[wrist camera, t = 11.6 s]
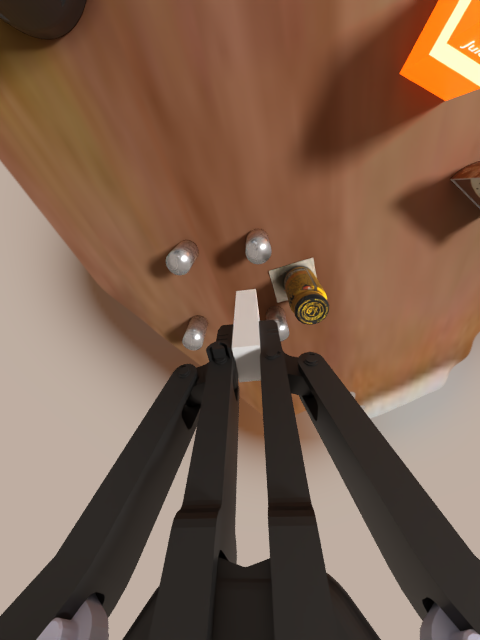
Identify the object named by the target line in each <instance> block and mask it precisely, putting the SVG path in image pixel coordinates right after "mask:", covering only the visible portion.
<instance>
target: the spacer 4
mask: <svg viewBox="0 0 480 640" xmlns="http://www.w3.org/2000/svg"><path fill="white" fill-rule="evenodd" d="M266 320H274V321H275V322H276V323H277V325H278V331H279V336H280V341H283V340H285V339H286V338H287V337H288V336H289V329H288V325H287V321H286V317H285V312H284V310H283V309H282V308H281V307H278V306H273V307H271V308H269V309H268V310H267V312H266Z"/></svg>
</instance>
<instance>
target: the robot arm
mask: <svg viewBox="0 0 480 640" xmlns="http://www.w3.org/2000/svg"><path fill="white" fill-rule="evenodd" d="M85 3H86V0H0V19H2V20H3V21H5V22H7V23H8V24H10V25H11V26H13V27H15V28H16V29H18V30H20V31H21V32H23V33H25V34H28V35H30V36H33V37H36V38H41V39H53V38H57V37H60V36H62V35H64V34H66V33H67V32H69V31H70V30H71V29H72V28H73V27H74V26H75V24H76V23H77V21H78V20H79V18H80V16H81V14H82V12H83V9H84V6H85ZM216 340H217V341H216V342H214V343H212V344H210V345H209V346H208V347H207V349H206V352H207V355H208V358H209V363H207V364H205V365H203V366H200V367H197V368H196V367H195V366H193V365H191V364H184V365H181V366H179V367H178V368H177V369H176V370H175V371H174V372H173V374H172V375H171V377H170V378H169V380H168V381H167V383H166V384H165V386H164V388H163V389H162V391H161V392H160V394H159V395H158V397H157V399H156V400H155V402H154V403H153V405H152V406H151V408H150V409H149V411H148V412H147V414H146V416H145V417H144V419H143V420H142V422H141V424H140V425H139V426H138V428H137V430H136V431H135V433H134V434H133V436H132V437H131V439H130V440H129V442H128V444H127V445H126V447H125V448H124V450H123V451H122V453H121V454H120V456H119V458H118V459H117V461H116V463H115V464H114V465H113V467H112V469H111V470H110V472H109V473H108V475H107V476H106V478H105V479H104V481H103V483H102V484H101V486H100V487H99V489H98V490H97V492H96V493H95V495H94V496H93V498H92V500H91V501H90V503H89V504H88V506H87V507H86V509H85V511H84V512H83V514H82V515H81V517H80V518H79V520H78V521H77V523H76V524H75V526H74V528H73V529H72V531H71V533H70V534H69V535H68V537H67V539H66V540H65V542H64V543H63V545H62V546H61V548H60V549H59V551H58V553H57V554H56V556H55V557H54V558H53V559H52V560H51V561H50V562H49V563H48V565H47V566H46V567H45V568H44V569H43V570H42V571H41V572H40V574H38V576H37V577H36V578H35V579H34V580H33V581H32V582H31V583H30V584H29V586H27V587H26V589H25V590H24V591H23V592H22V593H21V594H20V595H19V596H18V597H17V598H16V599H15V601H14V602H13V603H12V604H11V605H10V606H9V607H8V608H7V609H6V610H5V612H4V613H3V614H2V615H1V616H0V640H108V637H109V634H108V617H109V616H110V614H111V612H112V611H113V609H114V608H115V606H116V604H117V603H118V600H119V599H120V597H121V595H122V594H123V592H124V590H125V588H126V586H127V584H128V582H129V580H130V578H131V576H132V574H133V572H134V569H135V567H136V565H137V563H138V561H139V558H140V556H141V553H142V551H143V549H144V547H145V545H146V542H147V540H148V538H149V535H150V533H151V531H152V528H153V526H154V524H155V521H156V519H157V517H158V515H159V512H160V510H161V508H162V505H163V503H164V501H165V498H166V496H167V494H168V491H169V489H170V487H171V485H172V482H173V480H174V478H175V475H176V473H177V471H178V468H179V466H180V464H181V461H182V459H183V457H184V454H185V452H186V450H187V447H188V445H189V443H190V441H191V438H192V436H193V434H194V431H195V429H196V427H197V430H196V435H195V441H194V446H193V452H192V457H191V462H190V468H189V473H188V478H187V484H186V489H185V494H184V500H183V504H182V507H181V509H180V510H179V511H178V512H177V513H176V515H175V518H174V520H173V524H172V528H171V533H170V538H169V542H168V548H167V552H166V557H165V563H164V567H163V572H162V577H161V582H160V586H159V587H158V588H157V589H156V591H155V592H154V594H153V595H152V597H151V598H150V599H149V601H148V602H147V604H146V605H145V607H144V608H143V610H142V611H141V613H140V614H139V616H138V617H137V619H136V620H135V622H134V623H133V625H132V626H131V628H130V629H129V631H128V632H127V634H126V635H125V637H124V638H123V640H381V639H380V638H379V637H378V635H377V634H376V632H375V631H374V630H373V628H372V627H371V626H370V624H369V623H368V621H367V620H366V618H365V617H364V616H363V614H362V613H361V611H360V610H359V609H358V607H357V606H356V604H355V603H354V602H353V601H352V599H351V597H350V596H349V595H348V594H347V592H346V591H345V590H344V589H343V588H342V587H341V585H340V584H339V583H338V582H337V581H336V580H335V579H334V578H333V577H331V576H330V575H329V574H327V573H326V570H325V564H324V559H323V554H322V549H321V543H320V538H319V533H318V528H317V522H316V518H315V513H314V510H313V507H312V504H311V500H310V494H309V489H308V484H307V478H306V473H305V467H304V462H303V456H302V451H301V445H300V440H299V434H298V429H297V424H296V418H295V413H294V407H293V402H292V396H291V393H292V394H297V395H299V397H300V399H301V401H302V403H303V405H304V407H305V409H306V410H307V412H308V414H309V416H310V418H311V420H312V422H313V424H314V426H315V427H316V429H317V431H318V433H319V435H320V437H321V439H322V441H323V443H324V445H325V446H326V448H327V450H328V452H329V454H330V456H331V458H332V460H333V462H334V464H335V465H336V468H337V469H338V471H339V473H340V475H341V477H342V479H343V481H344V483H345V485H346V486H347V488H348V490H349V492H350V494H351V496H352V498H353V500H354V502H355V504H356V506H357V507H358V509H359V511H360V513H361V515H362V517H363V519H364V521H365V523H366V525H367V527H368V528H369V530H370V532H371V534H372V536H373V538H374V540H375V542H376V544H377V546H378V547H379V549H380V551H381V553H382V555H383V557H384V559H385V561H386V563H387V565H388V566H389V568H390V570H391V572H392V573H393V575H394V577H395V579H396V580H397V582H398V584H399V585H400V587H401V589H402V591H403V592H404V594H405V595H406V597H407V598H408V600H409V601H410V603H411V604H412V606H413V607H414V609H415V610H416V612H417V613H418V615H419V616H420V617H421V619H422V620H423V622H422V625H421V628H420V640H480V560H479V559H478V558H477V557H476V556H475V555H474V554H473V553H472V552H471V550H470V549H469V548H468V546H467V545H466V544H465V543H464V541H463V540H462V539H461V537H460V536H459V535H458V534H457V532H456V531H455V529H454V528H453V527H452V525H451V524H450V523H449V522H448V520H447V519H446V518H445V516H444V515H443V514H442V512H441V511H440V510H439V509H438V508H437V506H436V505H435V503H434V502H433V501H432V499H431V498H430V497H429V496H428V494H427V493H426V492H425V491H424V489H423V488H422V486H421V485H420V484H419V482H418V481H417V480H416V478H415V477H414V476H413V475H412V473H411V472H410V471H409V469H408V468H407V467H406V465H405V464H404V463H403V461H402V460H401V459H400V458H399V456H398V455H397V454H396V452H395V451H394V450H393V448H392V447H391V446H390V445H389V443H388V442H387V441H386V439H385V438H384V437H383V435H382V434H381V433H380V431H379V430H378V429H377V427H376V426H375V425H374V424H373V422H372V421H371V420H370V418H369V417H368V416H367V414H366V413H365V412H364V410H363V409H362V408H361V407H360V405H359V404H358V403H357V401H356V400H355V399H354V397H353V396H352V395H351V394H350V392H349V391H348V390H347V388H346V387H345V386H344V384H343V383H342V382H341V380H340V379H339V378H338V377H337V375H336V374H335V373H334V371H333V370H332V369H331V367H330V366H329V365H328V363H327V362H326V361H325V360H324V358H323V357H322V356H321V355H319V354H317V353H313V352H307V353H304V354H301V355H300V356H299V358H298V357H292V356H289V355H287V354H285V353H284V352H283V350H282V347H281V341H280V336H279V331H278V325H277V323H276V322H275V321H274V320H264V321H260V318H259V310H258V302H257V294H256V289H251V290H243V291H236V303H235V315H234V324H232V325H223V326H221V327H220V329H219V330H218V334H217V339H216ZM238 378H239V382H246V381H259V380H261V388H262V405H263V422H264V438H265V454H266V473H267V489H268V527H269V544H270V558H269V559H267V560H264V561H262V562H259V563H257V564H254V565H251V566H249V567H242V566H239V565H237V564H236V560H237V555H236V553H237V551H236V538H235V511H236V480H237V478H236V477H237V449H238V448H237V447H238V417H239V416H238V415H239V414H238V413H239V386H238Z"/></svg>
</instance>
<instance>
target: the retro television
mask: <svg viewBox="0 0 480 640" xmlns="http://www.w3.org/2000/svg"><path fill="white" fill-rule="evenodd" d="M450 180H451V181H452V182H453V183H454V184H455V185H456V186H457V187H458V188H459V189H460V190H461V191H462V192H463V193H464V194H465V195H466V196H467V197H468V198H469V199H470V200H471V201H472V202H473V203H474V204H475V205H476V206H477V207H478V208H479V209H480V161H478V162H475V163H472V164H470V165H468V166H466V167H465V168H463V169H461V170H460V171H459V172H457V173H456V174H455V175H454V176H453V177H452V178H451V179H450Z"/></svg>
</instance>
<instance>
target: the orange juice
mask: <svg viewBox="0 0 480 640" xmlns="http://www.w3.org/2000/svg"><path fill="white" fill-rule="evenodd" d="M400 74H401V75H402V76H404V77H406V78H407V79H409V80H411V81H413V82H414V83H416V84H418V85H419V86H421V87H423V88H424V89H426V90H428V91H429V92H431V93H433V94H434V95H436V96H438V97H440V98H441V99H443V100H445V101H446V100H449V99H452V98H455V97H458V96H460V95H463V94H466V93H469V92H471V91H474V90H477V89H480V0H438V2H437V4H436V6H435V8H434V10H433V12H432V14H431V15H430V17H429V19H428V21H427V23H426V25H425V27H424V29H423V30H422V32H421V34H420V36H419V38H418V40H417V42H416V44H415V45H414V47H413V49H412V51H411V53H410V55H409V57H408V59H407V60H406V62H405V64H404V66H403V68H402V70H401V72H400Z"/></svg>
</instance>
